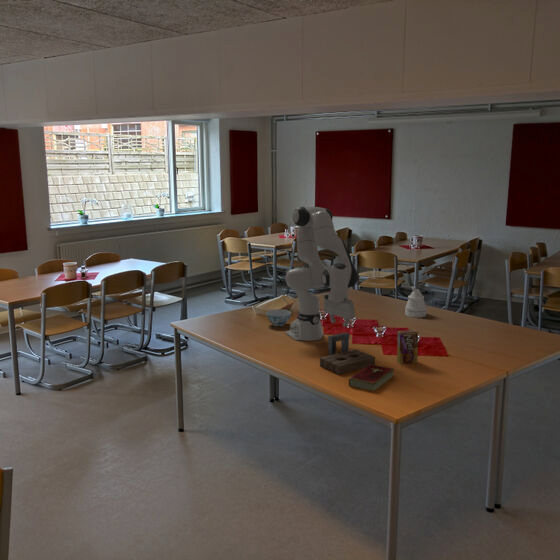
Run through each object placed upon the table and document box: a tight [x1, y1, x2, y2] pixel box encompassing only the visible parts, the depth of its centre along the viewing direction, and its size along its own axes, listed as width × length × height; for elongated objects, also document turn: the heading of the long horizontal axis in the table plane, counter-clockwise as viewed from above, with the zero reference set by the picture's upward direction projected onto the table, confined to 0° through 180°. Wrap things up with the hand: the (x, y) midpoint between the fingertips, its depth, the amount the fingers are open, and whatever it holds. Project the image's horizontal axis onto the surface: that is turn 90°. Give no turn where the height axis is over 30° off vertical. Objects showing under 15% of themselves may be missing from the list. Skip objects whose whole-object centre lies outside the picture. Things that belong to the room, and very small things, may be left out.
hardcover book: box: [348, 364, 395, 392], centre depth 245 cm, size 12×21×4 cm, turn 146°
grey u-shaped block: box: [327, 332, 350, 356], centre depth 278 cm, size 3×11×10 cm, turn 123°
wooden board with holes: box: [319, 348, 376, 375], centre depth 264 cm, size 14×22×4 cm, turn 123°
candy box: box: [396, 329, 419, 365], centre depth 266 cm, size 9×4×15 cm, turn 96°
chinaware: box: [265, 309, 292, 327], centre depth 334 cm, size 15×15×8 cm
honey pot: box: [404, 286, 427, 318], centre depth 352 cm, size 13×13×18 cm
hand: (339, 324), depth 276 cm, fingers open, 8 cm apart
